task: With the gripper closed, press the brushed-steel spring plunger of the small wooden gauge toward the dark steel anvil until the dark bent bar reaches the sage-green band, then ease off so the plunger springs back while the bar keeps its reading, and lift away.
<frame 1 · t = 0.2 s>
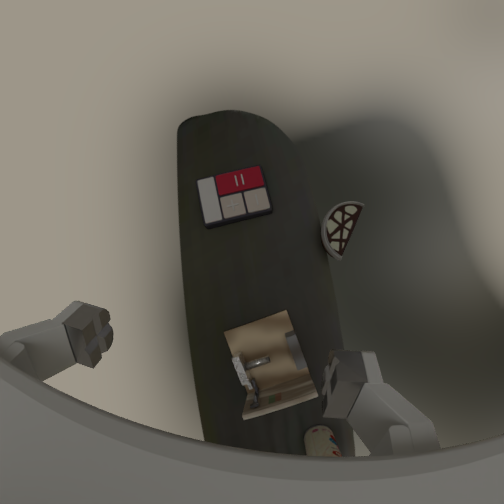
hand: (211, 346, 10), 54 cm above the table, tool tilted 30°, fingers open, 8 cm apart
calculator: (234, 199, 67), on the table
aerosol can: (318, 436, 58), on the table
food container: (330, 233, 64), on the table
gauge frame: (268, 354, 61), on the table
dark bent bar: (253, 391, 54), point 7 cm above the table, slide at 0.0 cm
plunger: (255, 369, 57), point 4 cm above the table, slide at 0.0 cm
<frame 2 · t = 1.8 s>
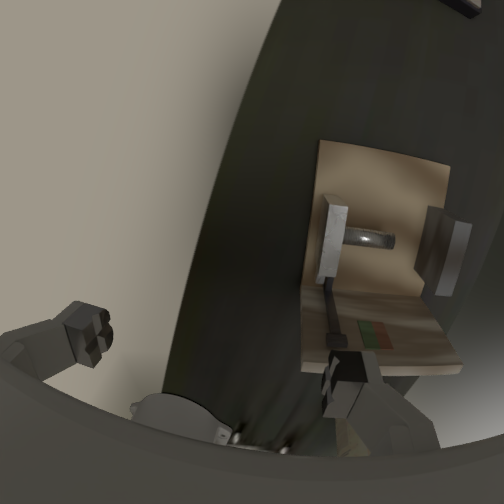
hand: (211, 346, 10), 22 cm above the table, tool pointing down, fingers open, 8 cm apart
aerosol can: (356, 391, 38), on the table
gauge frame: (375, 227, 29), on the table
dark bent bar: (334, 297, 25), point 7 cm above the table, slide at 0.0 cm
plunger: (355, 249, 26), point 5 cm above the table, slide at 0.0 cm
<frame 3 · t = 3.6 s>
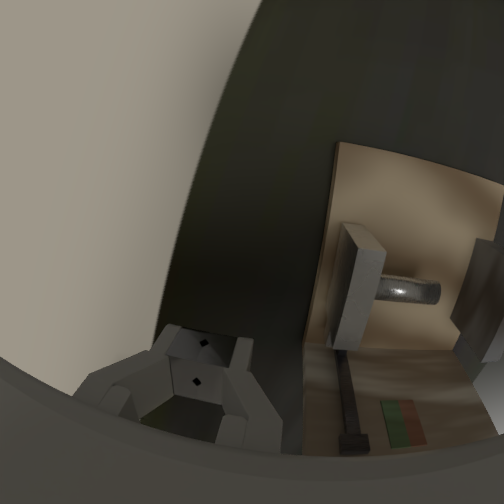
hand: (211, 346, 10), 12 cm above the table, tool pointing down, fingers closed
gauge frame: (406, 265, 20), on the table
dark bent bar: (352, 374, 16), point 7 cm above the table, slide at 0.0 cm
plunger: (385, 304, 17), point 5 cm above the table, slide at 0.0 cm
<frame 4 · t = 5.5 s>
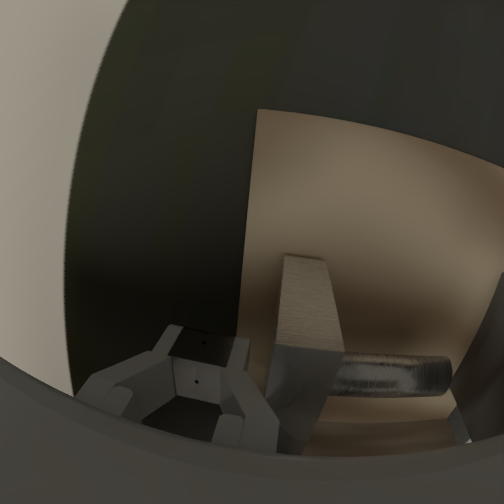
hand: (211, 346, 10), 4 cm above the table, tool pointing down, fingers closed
gauge frame: (387, 312, 13), on the table
plunger: (354, 396, 9), point 4 cm above the table, slide at 0.8 cm, touching gripper, dark bent bar
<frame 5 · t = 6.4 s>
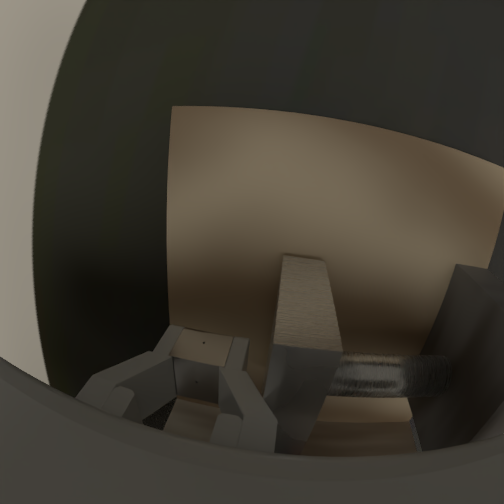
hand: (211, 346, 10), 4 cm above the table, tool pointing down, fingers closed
gauge frame: (326, 306, 13), on the table
plunger: (353, 396, 9), point 5 cm above the table, slide at 3.9 cm, touching gripper, dark bent bar
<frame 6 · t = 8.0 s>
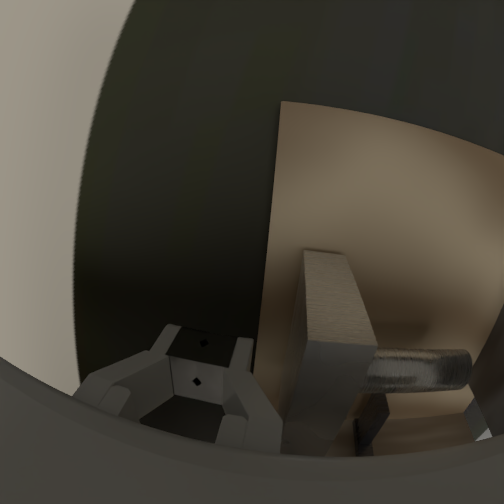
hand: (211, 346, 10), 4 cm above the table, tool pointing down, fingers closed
gauge frame: (407, 308, 13), on the table
dark bent bar: (380, 488, 8), point 7 cm above the table, slide at 3.6 cm
plunger: (375, 392, 9), point 4 cm above the table, slide at 0.5 cm
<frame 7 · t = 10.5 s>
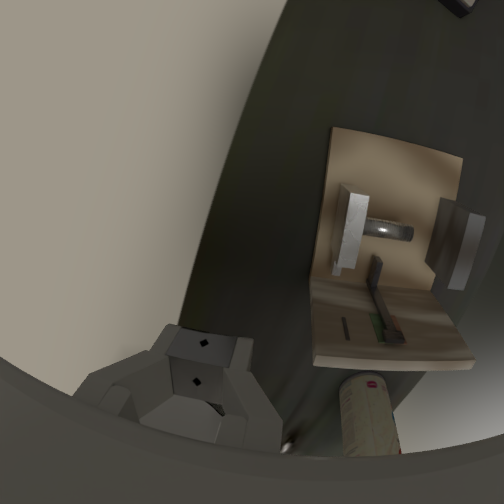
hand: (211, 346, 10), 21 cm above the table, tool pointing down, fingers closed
aerosol can: (362, 386, 37), on the table
gauge frame: (386, 218, 28), on the table
dark bent bar: (385, 293, 23), point 7 cm above the table, slide at 3.6 cm
plunger: (373, 240, 24), point 5 cm above the table, slide at 0.5 cm
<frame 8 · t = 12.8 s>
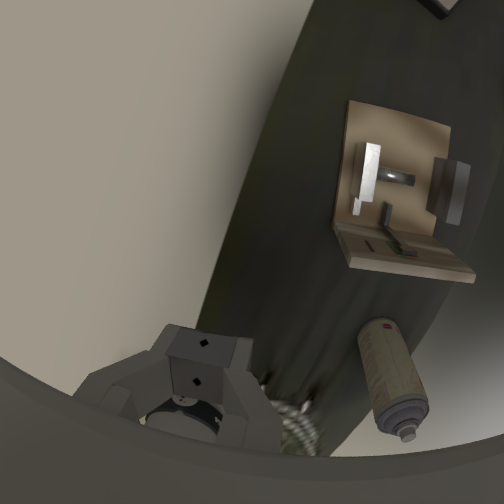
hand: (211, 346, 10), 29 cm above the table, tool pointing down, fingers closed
aerosol can: (377, 334, 42), on the table
gauge frame: (392, 174, 33), on the table
dark bent bar: (396, 224, 29), point 7 cm above the table, slide at 3.6 cm
plunger: (384, 184, 30), point 4 cm above the table, slide at 0.5 cm
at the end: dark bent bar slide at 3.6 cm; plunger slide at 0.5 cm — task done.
